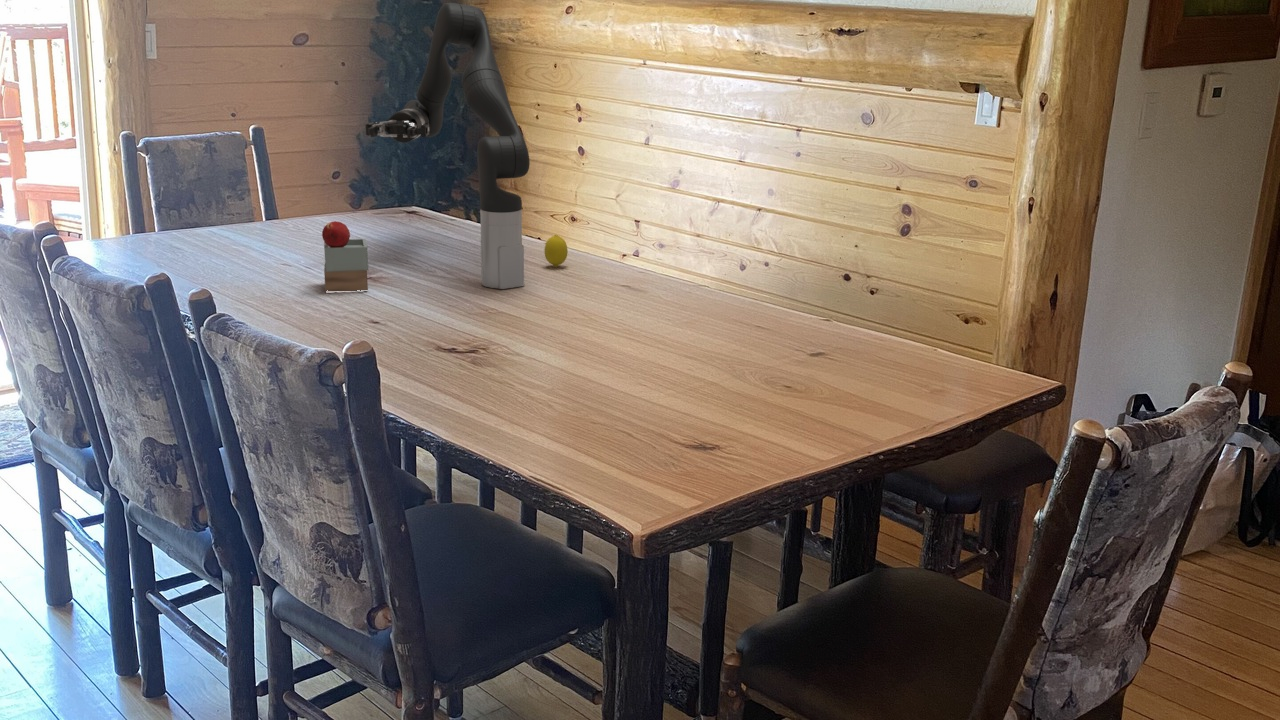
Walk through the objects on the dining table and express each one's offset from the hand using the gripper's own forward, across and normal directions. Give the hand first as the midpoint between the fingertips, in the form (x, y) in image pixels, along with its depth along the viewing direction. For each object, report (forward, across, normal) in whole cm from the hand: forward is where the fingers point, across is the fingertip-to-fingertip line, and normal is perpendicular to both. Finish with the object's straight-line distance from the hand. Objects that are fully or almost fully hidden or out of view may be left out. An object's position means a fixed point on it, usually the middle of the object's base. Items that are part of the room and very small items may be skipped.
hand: (390, 132), depth 267 cm
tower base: (+20, -6, +32) cm, 38 cm away
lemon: (-7, +37, +32) cm, 50 cm away
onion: (+19, -7, +22) cm, 30 cm away
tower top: (+19, -6, +27) cm, 34 cm away
